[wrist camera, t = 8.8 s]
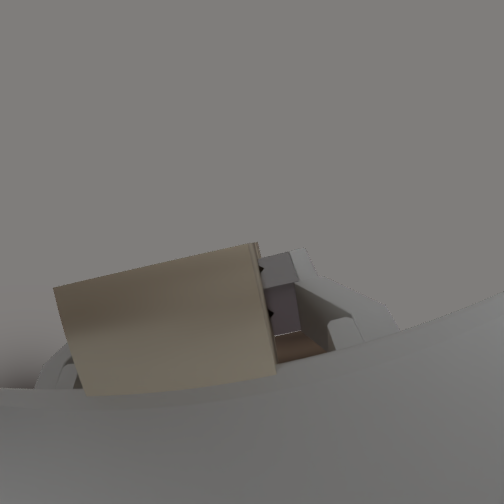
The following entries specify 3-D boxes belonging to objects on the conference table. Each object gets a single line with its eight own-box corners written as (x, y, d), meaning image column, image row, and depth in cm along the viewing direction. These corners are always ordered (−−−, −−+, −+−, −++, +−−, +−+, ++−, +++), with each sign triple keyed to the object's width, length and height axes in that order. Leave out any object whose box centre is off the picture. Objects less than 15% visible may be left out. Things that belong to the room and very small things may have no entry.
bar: (287, 421, 5) (247, 243, 5) (104, 437, 5) (52, 287, 5) (265, 277, 27) (257, 242, 27) (224, 285, 27) (216, 251, 27)
